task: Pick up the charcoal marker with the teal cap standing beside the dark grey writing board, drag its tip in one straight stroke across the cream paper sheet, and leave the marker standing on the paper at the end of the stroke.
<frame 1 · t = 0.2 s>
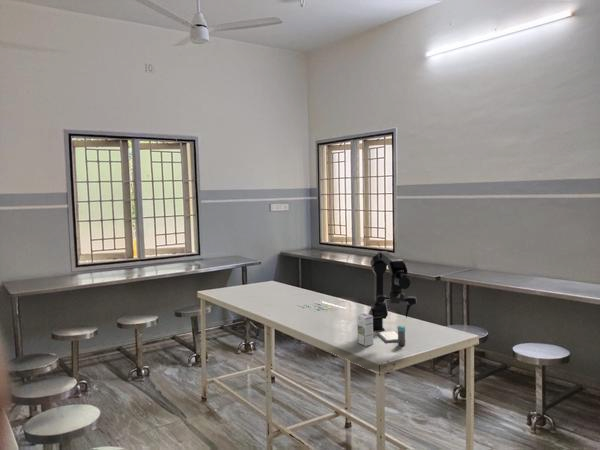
hand: (396, 316, 242), 14 cm above the table, tool pointing down, fingers open, 9 cm apart
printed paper: (315, 308, 323), on the table
writing board: (390, 337, 255), on the table
marker: (401, 345, 243), on the table
syrup box: (365, 344, 246), on the table
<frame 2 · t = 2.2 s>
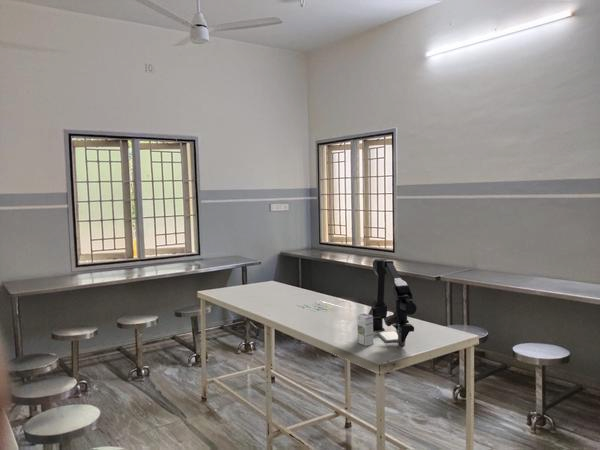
hand: (401, 341, 243), 2 cm above the table, tool pointing down, fingers closed on marker, 3 cm apart
marker: (401, 345, 243), on the table, touching gripper
everything else where it was.
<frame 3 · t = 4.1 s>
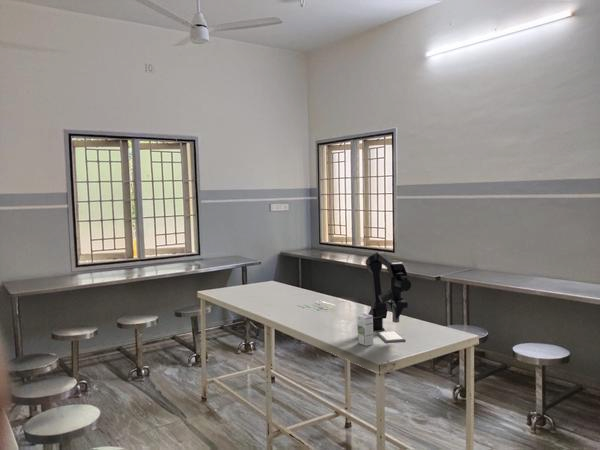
hand: (395, 317, 250), 12 cm above the table, tool pointing down, fingers closed on marker, 3 cm apart
marker: (395, 321, 250), point 10 cm above the table, touching gripper
everything else where it was.
when the fingers open (3 cm above the table, at t = 5.9 s): marker stays where it is, resting on writing board.
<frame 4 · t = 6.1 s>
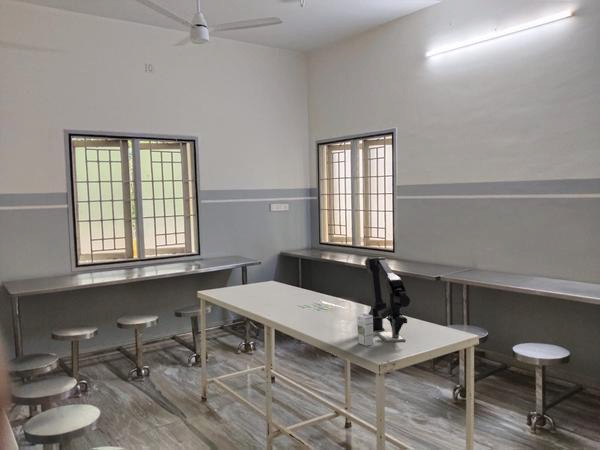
hand: (395, 333, 251), 3 cm above the table, tool pointing down, fingers open, 4 cm apart
marker: (395, 337, 251), point 1 cm above the table, touching gripper, writing board
everything else where it was.
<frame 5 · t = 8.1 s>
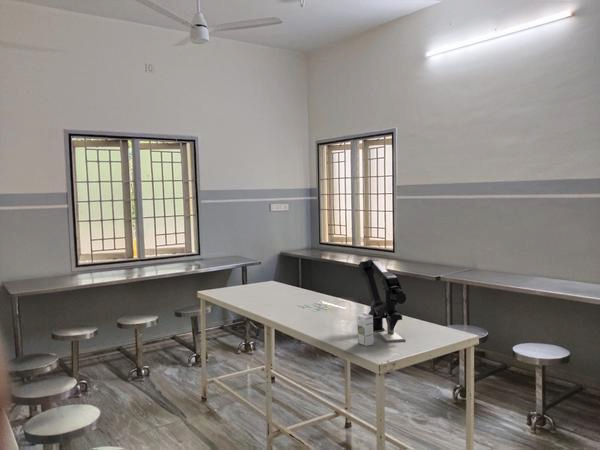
hand: (390, 329, 258), 3 cm above the table, tool pointing down, fingers closed on marker, 3 cm apart
marker: (390, 333, 258), point 1 cm above the table, touching gripper
everything else where it was.
when the fingers open (3 cm above the table, at t = 8.4 s): marker stays where it is, resting on writing board.
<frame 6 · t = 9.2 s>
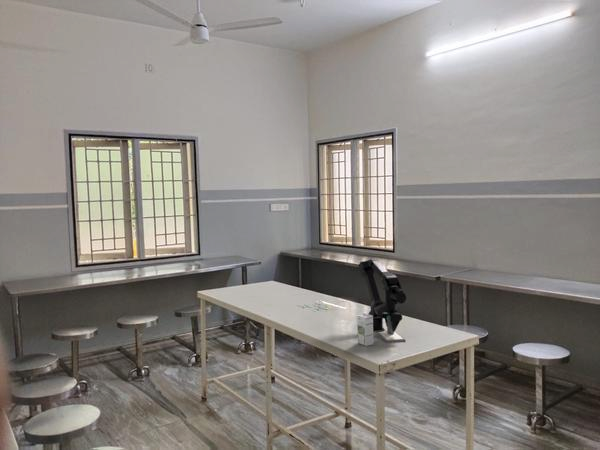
hand: (390, 329, 258), 4 cm above the table, tool pointing down, fingers open, 9 cm apart
marker: (390, 333, 258), point 1 cm above the table, touching writing board
everything else where it was.
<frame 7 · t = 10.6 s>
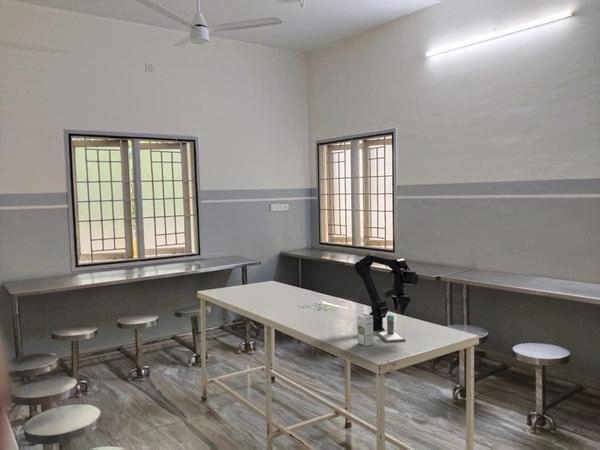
hand: (398, 312, 259), 12 cm above the table, tool pointing down, fingers open, 9 cm apart
nothing on the table moved.
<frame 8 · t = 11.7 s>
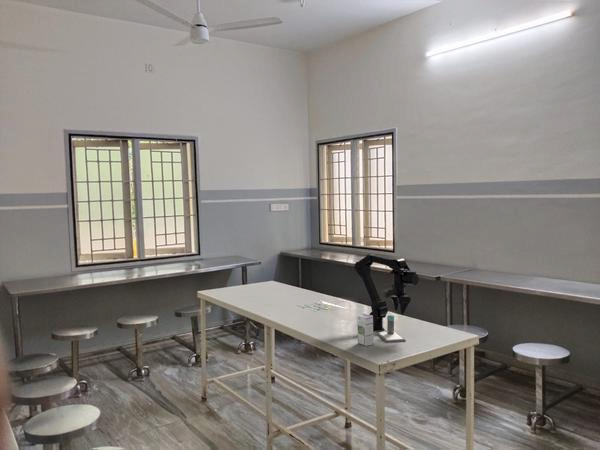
hand: (399, 312, 259), 12 cm above the table, tool pointing down, fingers open, 9 cm apart
nothing on the table moved.
at the end: marker 0.2 cm from the target spot, point 1.2 cm above the table; marker tilted 1°; the gripper is holding nothing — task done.
